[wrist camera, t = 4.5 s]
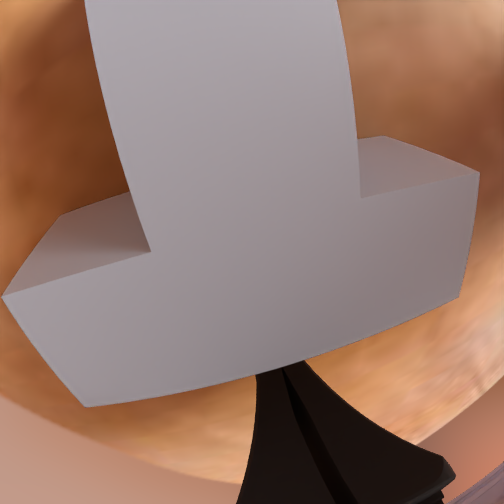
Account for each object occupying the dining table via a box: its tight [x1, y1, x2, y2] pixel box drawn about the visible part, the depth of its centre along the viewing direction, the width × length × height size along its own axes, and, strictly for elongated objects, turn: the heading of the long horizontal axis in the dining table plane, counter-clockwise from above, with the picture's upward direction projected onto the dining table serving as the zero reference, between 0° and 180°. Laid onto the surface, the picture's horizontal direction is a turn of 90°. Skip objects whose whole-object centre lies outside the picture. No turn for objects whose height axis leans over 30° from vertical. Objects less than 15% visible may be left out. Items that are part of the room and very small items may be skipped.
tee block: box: [1, 0, 480, 408], centre depth 6 cm, size 10×10×4 cm
